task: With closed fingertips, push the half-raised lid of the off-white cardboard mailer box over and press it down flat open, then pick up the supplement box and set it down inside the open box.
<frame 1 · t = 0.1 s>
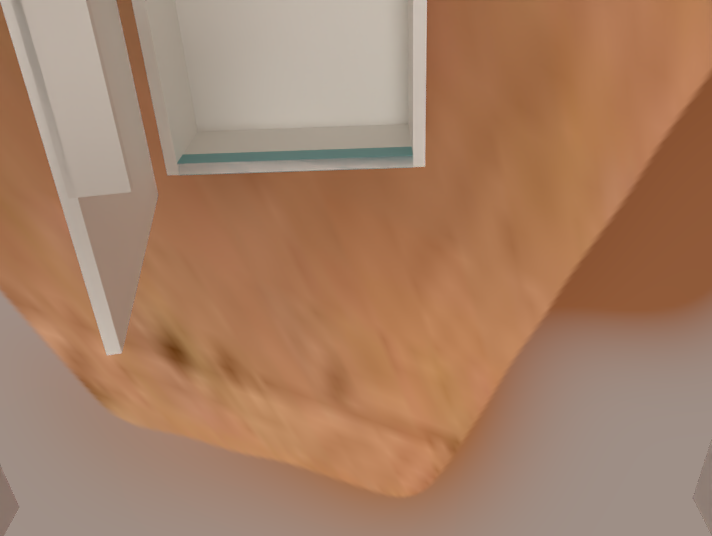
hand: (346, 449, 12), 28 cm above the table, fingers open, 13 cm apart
lid: (105, 42, 24), point 12 cm above the table, hinge at 80.0°
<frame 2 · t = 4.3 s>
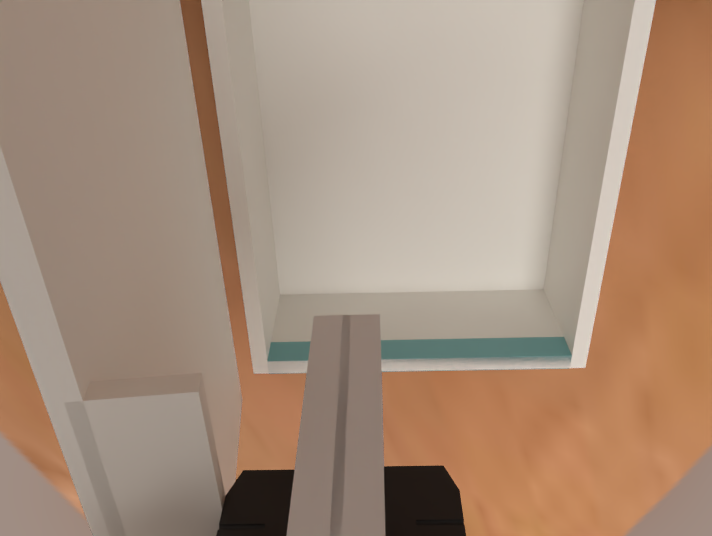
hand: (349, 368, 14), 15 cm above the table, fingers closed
mailer box: (412, 128, 27), on the table
lid: (203, 308, 16), point 12 cm above the table, hinge at 84.7°, touching gripper
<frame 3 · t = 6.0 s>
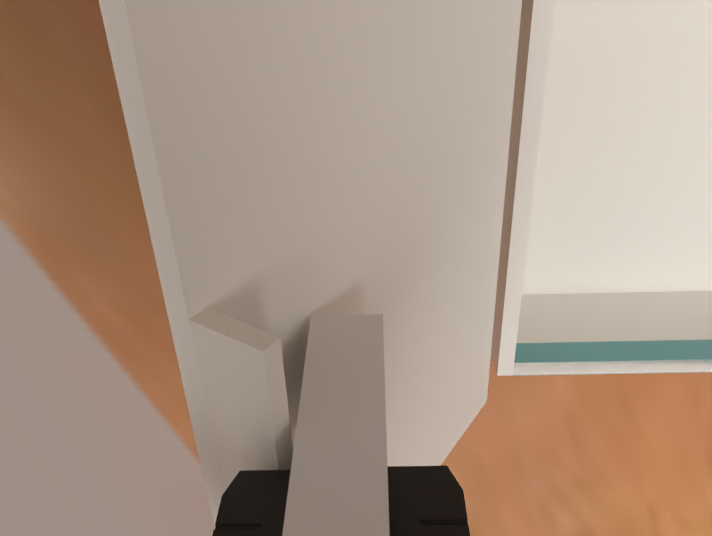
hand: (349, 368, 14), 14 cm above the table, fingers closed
mailer box: (657, 125, 26), on the table
lid: (416, 293, 16), point 12 cm above the table, hinge at 123.3°, touching gripper
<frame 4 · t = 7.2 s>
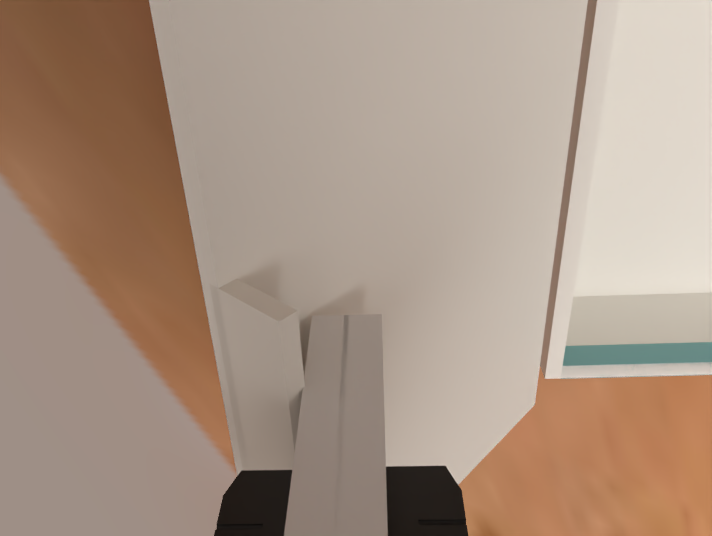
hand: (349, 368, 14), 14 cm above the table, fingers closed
mailer box: (702, 125, 26), on the table
lid: (455, 286, 17), point 11 cm above the table, hinge at 132.0°, touching gripper
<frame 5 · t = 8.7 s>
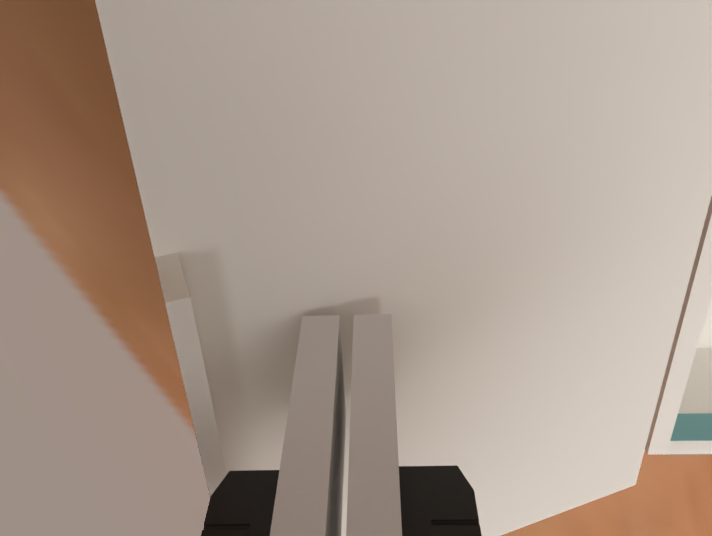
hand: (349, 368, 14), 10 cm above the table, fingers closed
lid: (481, 321, 15), point 9 cm above the table, hinge at 157.9°, touching gripper
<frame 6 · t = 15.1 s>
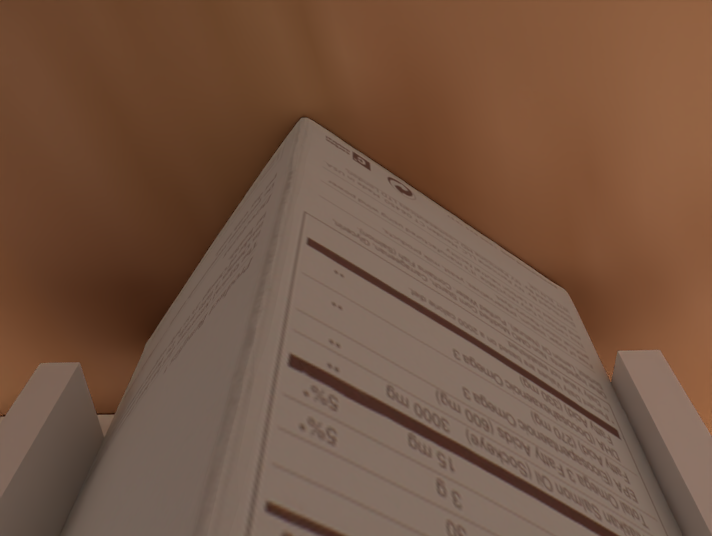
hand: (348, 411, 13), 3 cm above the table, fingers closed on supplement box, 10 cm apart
supplement box: (352, 309, 16), on the table, touching gripper
when the fingers open (6 cm above the table, at t = 20.7 s): supplement box drops 2 cm, resting on mailer box.
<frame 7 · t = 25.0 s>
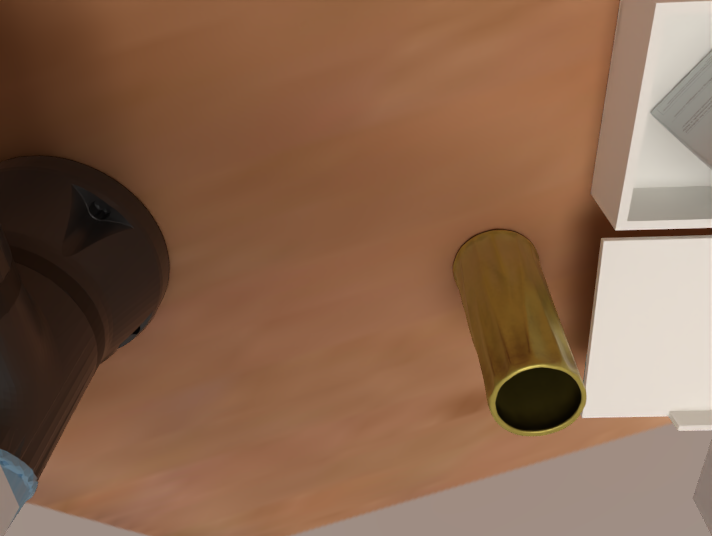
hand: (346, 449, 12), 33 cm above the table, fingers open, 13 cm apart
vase: (494, 264, 48), on the table
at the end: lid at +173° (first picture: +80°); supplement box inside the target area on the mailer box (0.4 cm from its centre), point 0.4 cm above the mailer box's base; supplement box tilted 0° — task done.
